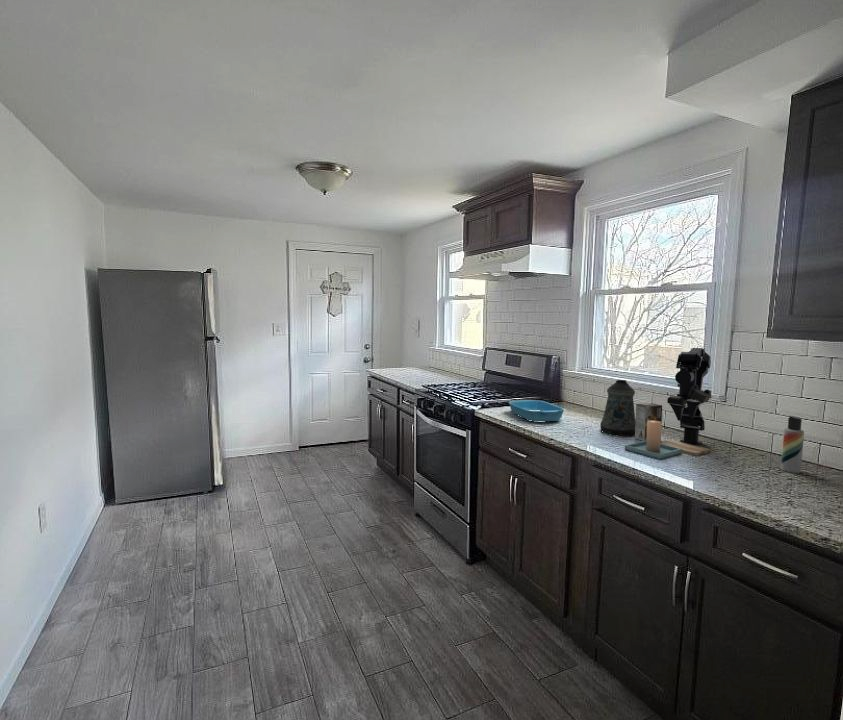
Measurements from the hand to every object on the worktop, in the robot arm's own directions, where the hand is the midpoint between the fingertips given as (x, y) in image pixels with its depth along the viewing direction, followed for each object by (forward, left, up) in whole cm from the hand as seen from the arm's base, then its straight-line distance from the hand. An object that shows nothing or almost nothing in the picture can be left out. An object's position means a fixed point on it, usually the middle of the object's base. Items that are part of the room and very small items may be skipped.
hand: (685, 419), depth 195 cm
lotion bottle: (-7, +35, -13) cm, 38 cm away
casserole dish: (+7, -78, -14) cm, 79 cm away
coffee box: (-3, -18, -13) cm, 23 cm away
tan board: (-1, -1, -13) cm, 13 cm away
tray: (+14, -5, -13) cm, 20 cm away
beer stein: (-4, -34, -13) cm, 37 cm away
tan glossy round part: (+14, -5, -12) cm, 19 cm away
